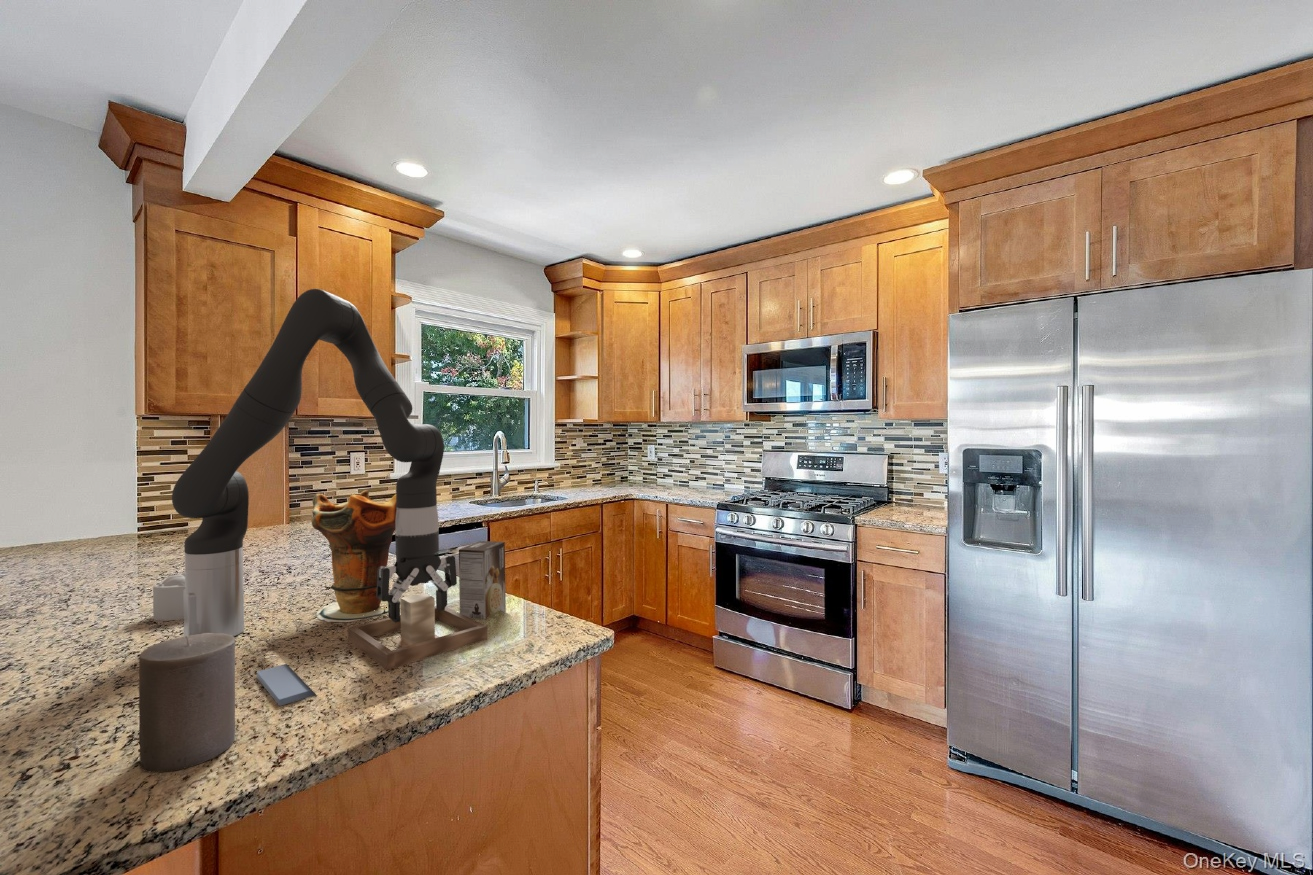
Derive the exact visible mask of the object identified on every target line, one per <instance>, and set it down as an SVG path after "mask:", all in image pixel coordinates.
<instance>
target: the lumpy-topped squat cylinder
mask: <svg viewBox="0 0 1313 875" xmlns="http://www.w3.org/2000/svg"><path fill="white" fill-rule="evenodd" d="M184 589H185V571H184V572H182V573H181V574H173V575H170V576H168V577H166V578H165V579H164V580H163V581H161V582H158V583H155V584H154V585H153V586H152V610H153V611H152V612H153V620H154V621H177V620H184V601H183V591H184Z"/></svg>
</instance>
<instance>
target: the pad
mask: <svg viewBox="0 0 1313 875" xmlns="http://www.w3.org/2000/svg"><path fill="white" fill-rule="evenodd" d="M256 679H257V680H258V681H259V682H260V683H261V685H262V686H263V687H264V689H265V690H266V691H267V692H268V694H269V695H270V697H272V699H274V702H276V704H277V705H278V706H279V707H281V706H285V705H288V704H291V703H294V702H298V701H300V700H304V699H308V698H310V697H314V696H316V695H317V694H316V692H315V691H314V690H312V688H311V687H310V686H309V685H307V683H306V682H305V681H304V680H303V679H302V678H301V677H300V676H299V675H298V674H297V672H296V671H294V670H293V669H292V668H291V667H290V666H289V664H288V663H284V664H281V665H277V666H273V667H270V668H269V667H268V668H265V669H262V670H258V671H256Z"/></svg>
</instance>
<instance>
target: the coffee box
mask: <svg viewBox="0 0 1313 875" xmlns="http://www.w3.org/2000/svg"><path fill="white" fill-rule="evenodd" d="M458 578H459V579H458V580H459V581H458V584H459V585H458V586H459V587H458V588H459V591H458V592H459V593H458V594H459V596H458V597H459V598H458V599H459V613H460V614H462V615H465V616H467V617H469V618H471V619H478V620H479V619H480V620H487V619H488V618H490V617H492V616H494V615H495V614H496V613H498V612H499V611H501V612H504V613H506V610H507V609H506V608H507V606H506V604H507V603H506V601H507V600H506V599H507V598H506V596H507V595H506V541H486V540H485V541H484V540H483V541H482V540H479V541H478V542H477V541H476V542H475V543H472V544H469V545H467V546H465V547H462V548H460V549H459V548H458Z"/></svg>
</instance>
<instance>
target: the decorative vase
mask: <svg viewBox="0 0 1313 875" xmlns="http://www.w3.org/2000/svg"><path fill="white" fill-rule="evenodd" d="M369 494H370V491H369V490H368V489H367V490H366V489H365V490H362V491H361V493H359V494H350V495H349V499H348V501H345V502H343V503H339V504H334V503H331V502H330V501H329V499H328V497H327V496H326V495H325V494H323V493H316V494H315V495H314V496H313V498H312V501H311V502H312V506H313V510H312V519H311V527H313V528H314V530H316V531H318V532H319V533H321V535H322V536H324V538H325V539H326V540H327V542H328V543H329V549H330V551H331V566H332V576H333V581H334V582H333V583H332V584H331V586H330V587H329V588H328V589H330V590H333V591H334V596H335V598H336V602H335V601H334V602H331V603H329V604H328V605H324V603H325V601H326V599H327V596H328V592H327V593H326V595H325V596H324V599H323V603H322V605H321V609H319V610H318V611H317V612H316V614H315V616H316V618H317V619H318V620H321V621H325V622H326V623H331V622H334V623H338V622H339V623H346V622H347V623H350V622H356V621H360V620H364V619H365V620H366V619H368V618H373V617H378V616H383V615H388V601H385V602H384V601H382V600H380V599H378V598H377V597H376V594H377V572H378V567H380V566H384V567H388V562H389V554H390V546H391V544H392V542H393V539H392V538H393V535H394V533H395V517H396V508H397V507H396V493H395V494H394V495H393V496H392V497H391V498H390V499H389V500H388V501H373V500H372V499H371V498H370V495H369ZM398 601H399V602H400V608H401V601H400V599H399V600H398ZM381 602H383V603H381ZM380 604H387V605H383V606H380ZM323 605H324V606H323ZM381 607H385V608H381ZM386 607H387V608H386ZM374 610H375V611H374ZM363 615H364V616H363Z"/></svg>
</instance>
